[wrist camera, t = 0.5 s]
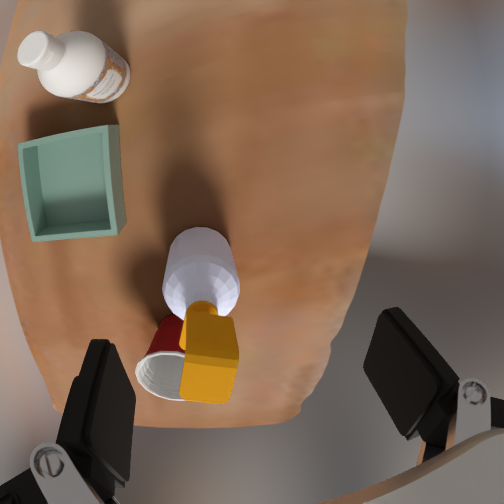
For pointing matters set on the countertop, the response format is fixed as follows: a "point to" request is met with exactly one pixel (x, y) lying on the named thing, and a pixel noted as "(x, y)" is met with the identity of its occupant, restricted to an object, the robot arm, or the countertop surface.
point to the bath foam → (75, 65)
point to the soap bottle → (204, 312)
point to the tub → (73, 184)
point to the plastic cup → (163, 361)
